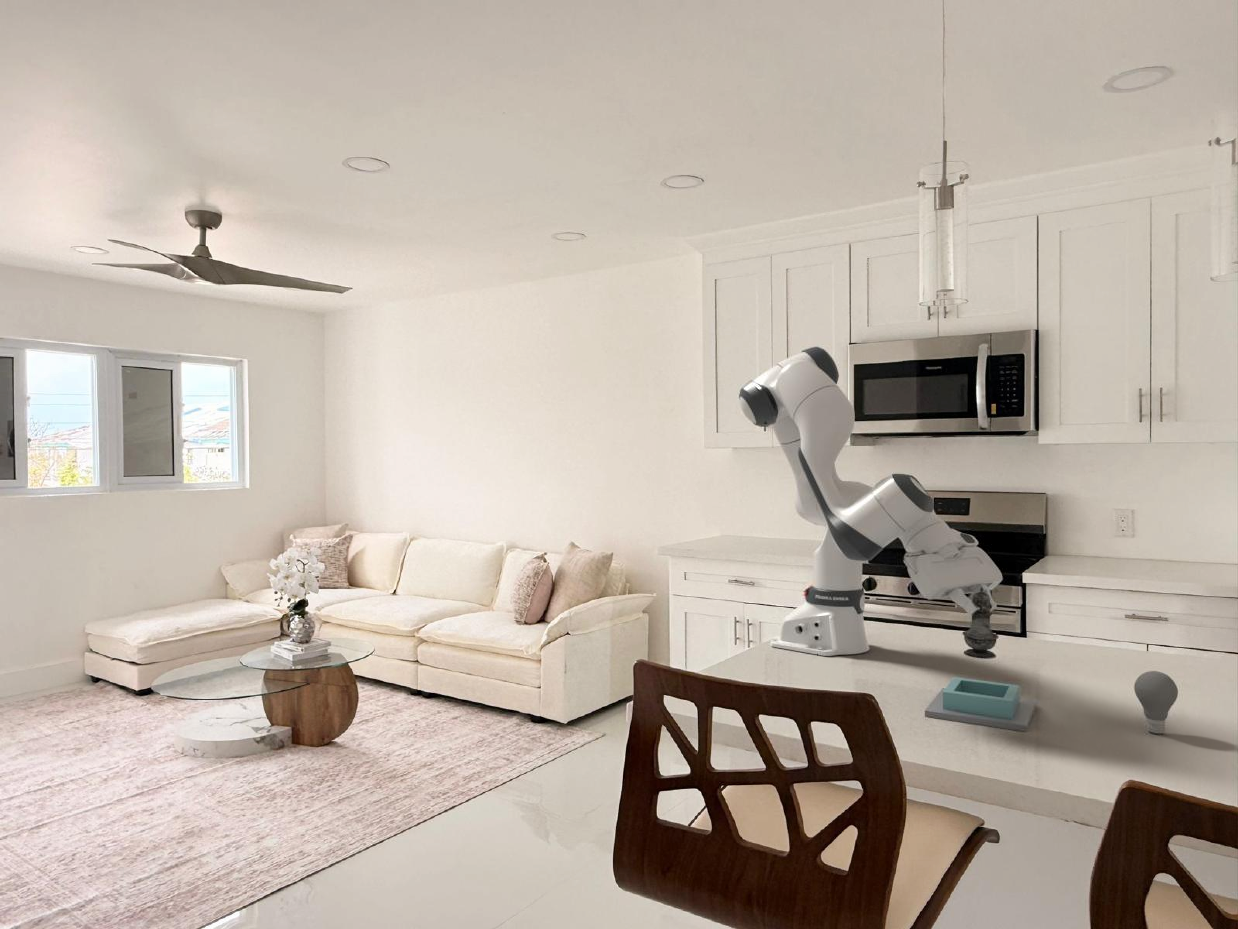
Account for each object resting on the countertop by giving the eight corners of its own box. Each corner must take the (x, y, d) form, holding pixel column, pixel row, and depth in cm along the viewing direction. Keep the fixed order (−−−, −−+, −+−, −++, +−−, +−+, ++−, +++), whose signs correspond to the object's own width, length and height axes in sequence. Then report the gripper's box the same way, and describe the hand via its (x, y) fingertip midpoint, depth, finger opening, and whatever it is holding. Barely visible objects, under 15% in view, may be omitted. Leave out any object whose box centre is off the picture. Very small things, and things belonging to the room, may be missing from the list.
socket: (924, 716, 147) (924, 693, 147) (942, 693, 161) (942, 672, 161) (1026, 731, 139) (1026, 707, 139) (1036, 706, 152) (1036, 684, 152)
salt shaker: (955, 654, 150) (957, 586, 149) (971, 648, 154) (973, 582, 153) (988, 661, 145) (990, 591, 145) (1004, 655, 149) (1006, 587, 149)
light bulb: (1168, 741, 134) (1168, 678, 134) (1127, 731, 139) (1127, 670, 138) (1184, 734, 137) (1184, 672, 137) (1143, 724, 142) (1144, 665, 142)
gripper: (909, 542, 149) (958, 606, 141) (979, 535, 160) (1028, 594, 152) (888, 564, 153) (935, 628, 145) (958, 556, 164) (1005, 615, 156)
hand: (983, 610), depth 149 cm, fingers closed on salt shaker, 4 cm apart
